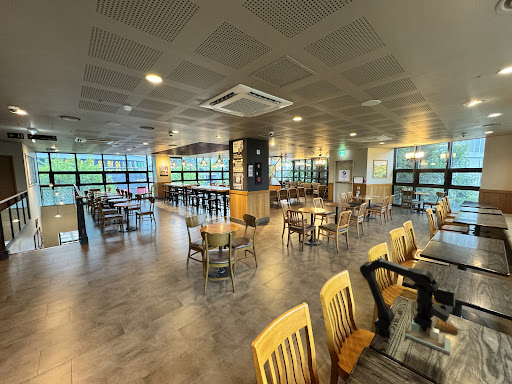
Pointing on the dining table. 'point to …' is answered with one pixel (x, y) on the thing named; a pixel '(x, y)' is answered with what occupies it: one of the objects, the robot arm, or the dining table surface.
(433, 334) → the block
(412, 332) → the tray
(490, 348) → the dining table surface
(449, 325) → the pastry
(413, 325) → the block
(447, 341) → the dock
